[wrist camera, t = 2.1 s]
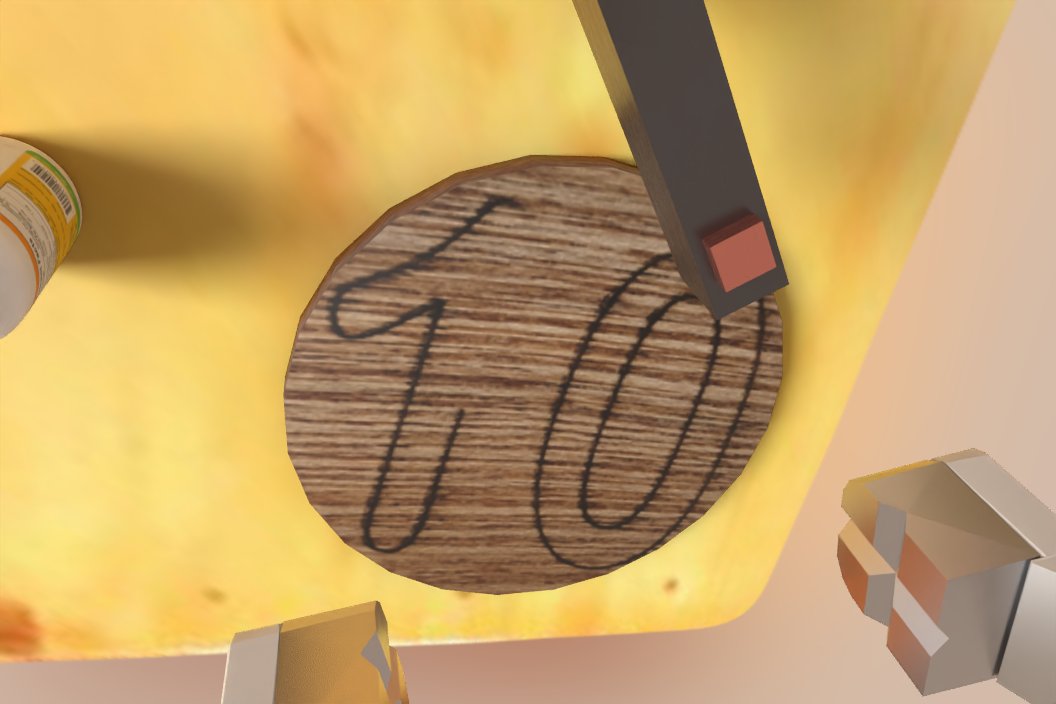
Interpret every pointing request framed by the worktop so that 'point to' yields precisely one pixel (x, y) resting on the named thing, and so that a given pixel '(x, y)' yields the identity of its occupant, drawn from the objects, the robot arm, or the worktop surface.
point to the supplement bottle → (32, 226)
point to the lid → (687, 145)
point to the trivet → (521, 382)
